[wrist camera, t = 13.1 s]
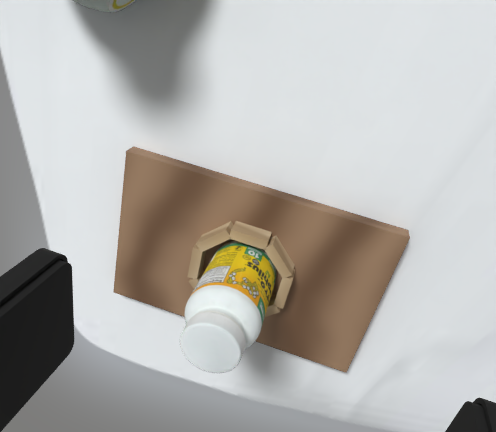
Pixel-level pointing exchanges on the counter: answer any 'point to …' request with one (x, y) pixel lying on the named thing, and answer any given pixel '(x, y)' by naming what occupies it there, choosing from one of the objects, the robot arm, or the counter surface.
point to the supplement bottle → (227, 307)
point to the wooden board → (261, 236)
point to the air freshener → (105, 4)
